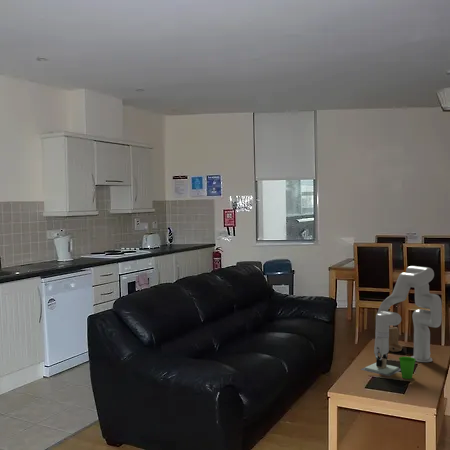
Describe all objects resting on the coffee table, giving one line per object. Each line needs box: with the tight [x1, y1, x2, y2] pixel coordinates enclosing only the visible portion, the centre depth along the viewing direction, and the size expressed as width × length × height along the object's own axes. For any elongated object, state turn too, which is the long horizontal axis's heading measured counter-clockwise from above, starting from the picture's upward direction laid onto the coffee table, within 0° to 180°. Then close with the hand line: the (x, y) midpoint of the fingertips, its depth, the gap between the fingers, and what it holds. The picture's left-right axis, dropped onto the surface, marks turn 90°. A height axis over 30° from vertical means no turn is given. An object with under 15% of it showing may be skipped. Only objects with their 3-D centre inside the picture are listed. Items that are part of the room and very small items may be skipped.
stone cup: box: [388, 326, 403, 353], centre depth 354 cm, size 15×12×15 cm
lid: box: [364, 358, 399, 375], centre depth 308 cm, size 14×14×6 cm
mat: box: [360, 363, 401, 377], centre depth 308 cm, size 18×18×1 cm
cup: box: [398, 356, 417, 380], centre depth 293 cm, size 9×9×11 cm
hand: (381, 364), depth 308 cm, fingers open, 6 cm apart
